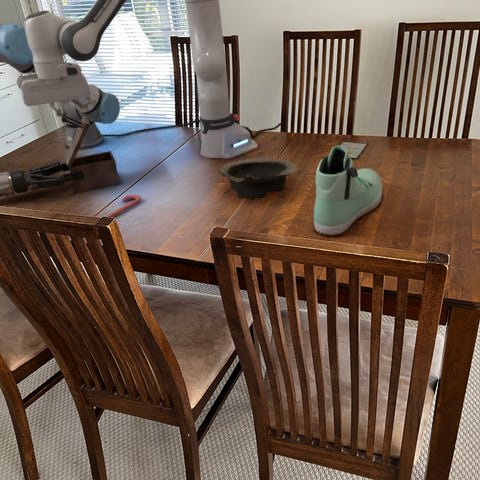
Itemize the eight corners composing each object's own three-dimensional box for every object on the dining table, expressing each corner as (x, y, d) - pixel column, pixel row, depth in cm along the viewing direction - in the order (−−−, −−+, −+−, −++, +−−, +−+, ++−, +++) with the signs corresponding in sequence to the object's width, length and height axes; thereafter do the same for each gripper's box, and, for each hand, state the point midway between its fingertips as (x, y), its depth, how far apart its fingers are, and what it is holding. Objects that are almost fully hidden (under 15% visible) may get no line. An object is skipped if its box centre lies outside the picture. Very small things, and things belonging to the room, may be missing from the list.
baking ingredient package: (332, 154, 173) (343, 141, 184) (332, 155, 173) (343, 142, 184) (356, 157, 169) (366, 143, 180) (356, 158, 169) (366, 144, 181)
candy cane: (96, 216, 146) (95, 211, 145) (131, 196, 156) (131, 192, 155) (109, 220, 143) (108, 216, 142) (145, 200, 153) (144, 196, 152)
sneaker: (389, 187, 148) (396, 123, 138) (356, 242, 123) (361, 168, 112) (346, 181, 154) (350, 119, 144) (306, 232, 129) (307, 161, 118)
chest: (116, 174, 173) (111, 150, 169) (120, 183, 166) (114, 159, 161) (73, 182, 169) (67, 159, 165) (75, 192, 162) (69, 168, 157)
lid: (87, 117, 161) (63, 106, 156) (89, 124, 153) (65, 113, 149) (68, 158, 165) (45, 148, 161) (70, 167, 157) (45, 157, 153)
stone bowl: (243, 213, 140) (240, 183, 136) (209, 189, 160) (205, 162, 156) (313, 190, 149) (312, 161, 144) (272, 170, 169) (270, 144, 165)
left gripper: (17, 180, 168) (82, 168, 174) (15, 206, 150) (87, 191, 156) (10, 160, 165) (77, 148, 171) (7, 184, 147) (82, 170, 153)
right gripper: (14, 77, 141) (28, 123, 148) (85, 67, 146) (95, 112, 153) (15, 73, 146) (28, 117, 153) (83, 64, 151) (93, 108, 158)
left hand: (82, 169), depth 163 cm, fingers closed on chest, 9 cm apart
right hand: (62, 115), depth 153 cm, fingers closed
